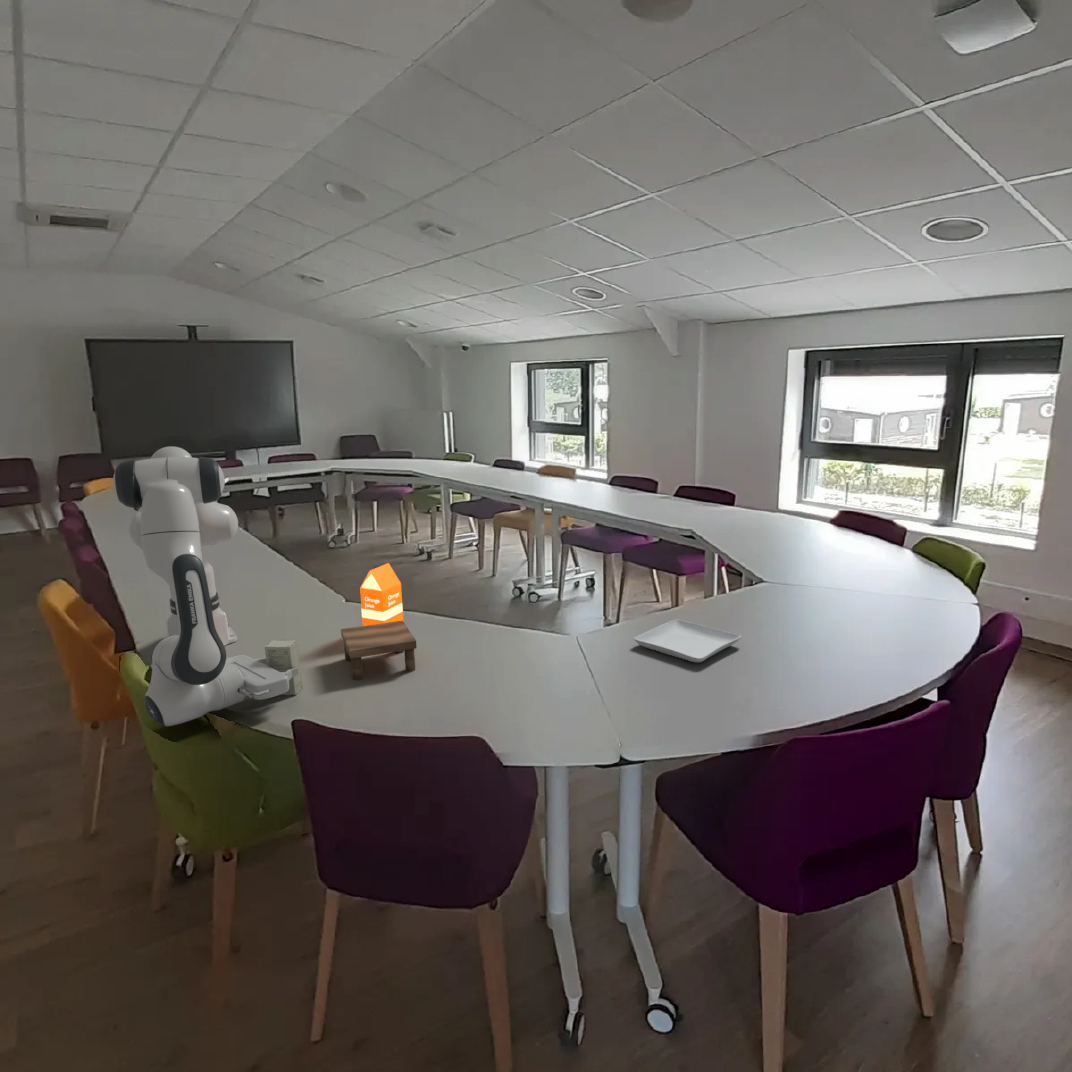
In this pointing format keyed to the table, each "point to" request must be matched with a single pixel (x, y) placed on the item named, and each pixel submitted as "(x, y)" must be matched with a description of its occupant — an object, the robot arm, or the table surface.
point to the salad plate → (687, 640)
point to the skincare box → (285, 661)
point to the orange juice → (381, 597)
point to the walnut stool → (378, 644)
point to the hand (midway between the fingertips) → (285, 665)
